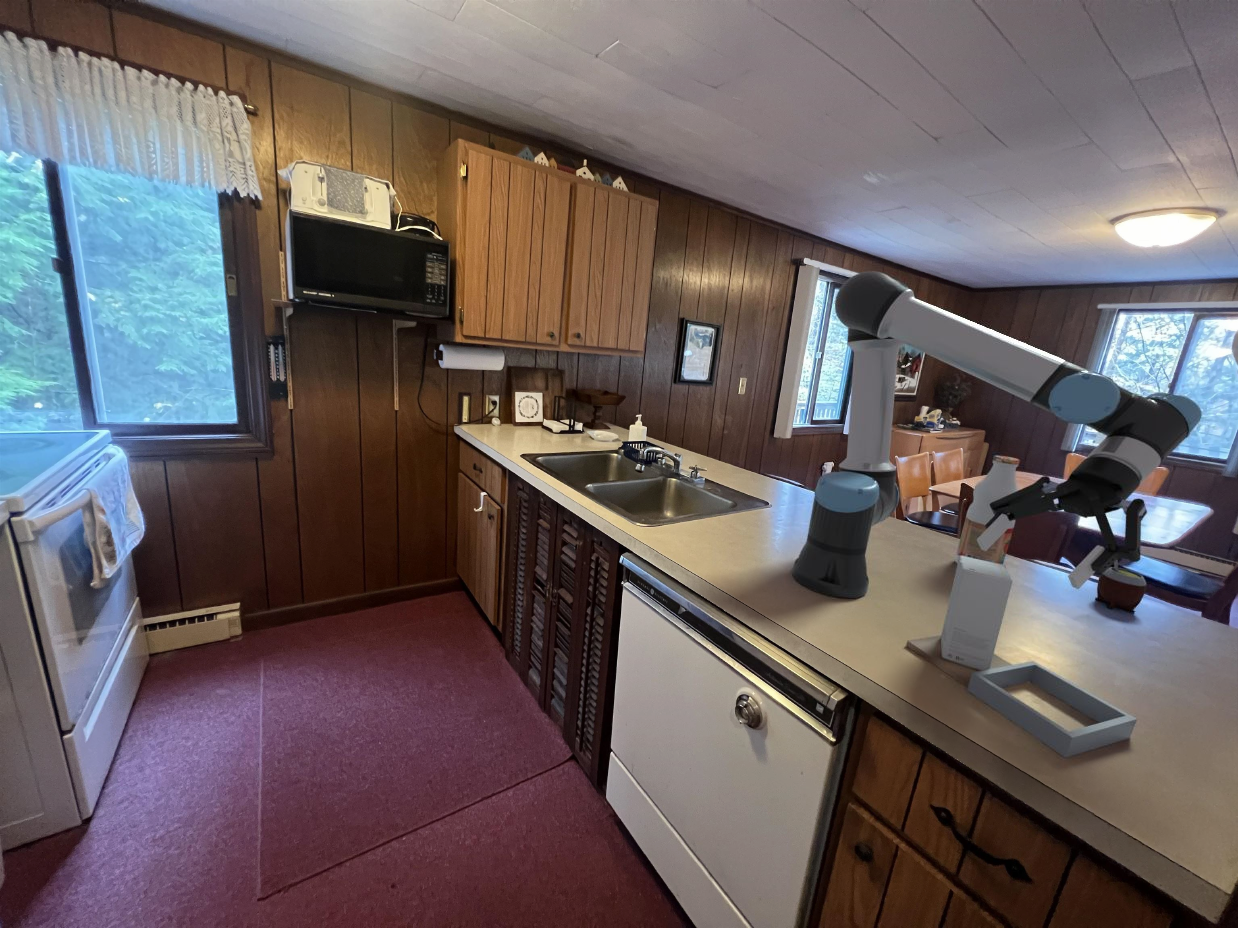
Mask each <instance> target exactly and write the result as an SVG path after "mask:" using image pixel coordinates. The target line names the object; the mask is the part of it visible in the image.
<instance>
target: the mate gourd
mask: <svg viewBox="0 0 1238 928" xmlns="http://www.w3.org/2000/svg"><path fill="white" fill-rule="evenodd" d="M1118 560H1119V559H1117V560H1116V561H1115V562H1114V563H1113V565H1114V566H1113V567H1112V566H1110V567H1109V568H1108V569H1107V570H1106V571H1105V572H1103V573H1101V574H1100V575H1099V577H1098V580H1097V587H1096V594H1097V596H1095V598H1094V600H1095V601H1097V602H1100V603H1102V604H1104V605H1108V606H1107V609H1108V610H1110V611H1113V610H1115V609H1119V610H1121V611H1124V612H1128V613H1130V614H1135V613H1136V611H1135V609H1136V608H1137V607H1138V606H1139V604H1140V603H1141V601H1142V600H1143V598H1144V595H1145V594H1146V592H1147V591H1146V590H1147V581H1146V579H1145V578H1144V576H1143V575H1141V574H1140V573H1138V572H1136V571H1132V570H1128V569H1126V568H1122V567H1119V565H1118V564H1119V562H1118Z"/></svg>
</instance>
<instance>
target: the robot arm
mask: <svg viewBox="0 0 1238 928" xmlns="http://www.w3.org/2000/svg"><path fill="white" fill-rule="evenodd" d="M914 293H915V292H914V291H913V290H912V289H910V288H909V287H908V286H907V285H906V284H905V283H903V282H901V281H899V280H897V279H894V278H892V277H891V276H889V275H888V274H885V273H883V272H880V271H876V270H874V271H873V270H871V271H870V270H869V271H862V272H858V273H857V274H854V275H852V276H851V277H850V278H848V279H847V280H846V281H845V282H844V283H843V284H842V285H841V286H840V288H839V290H838V292H837V294H836V296H835V301H834V309H835V314H836V317H837V318H838V320H839V321H840V323H841V324H843V325H844V327H847V329H848V330H847V341H846V342H847V344H846V345H847V346H848V347H849V348H850V349H851V350H852V352H853V362H852V363H853V364H852V377H851V378H852V379H851V394H850V406H849V407H850V408H849V422H848V423H849V424H848V435H847V449H846V452H847V453H846V458H845V459H844V460H843V461H842V462H841V463H839V464H838V471H832V472H831V471H830V472H826V473H824V474H823V475H821V476H820V477H819V478H818V481H817V485H816V487H815V489H814V497H813V504H812V510H811V514H810V515H811V516H810V520H809V526H808V532H807V537H806V541H805V544H804V545H803V547H802V548H801V550H800V553H799V555H798V557H797V558H796V559H795V561H794V562H793V566H792V571H791V573H792V576H793V578H794V580H796V582H797V583H799V584H800V585H802V586H804V587H805V588H808V589H809V590H812V591H814V592H817V593H820V594H823V595H826V596H829V597H830V596H831V597H836V598H840V599H841V598H843V599H855V598H856V599H858V598H861V597H864V596H865V595H866V594H867V592H868V588H869V586H870V585H869V583H870V579H869V576H868V572H867V570H868V569H867V567H868V566H867V560H866V554H867V550H868V549H867V548H868V543H869V539H870V534H871V530H872V527H874V526H875V525H877V524H878V523H881V522H883V521H885V520H886V519H887V518H889V517H890V516H891V515H892V514H893V513H894V512H895V510H896V509H897V506H898V504H899V501H900V491H899V486H898V485H897V483H896V479H897V478H896V475H897V467H896V466H895V465H894V464H893V463H892V462H891V461H890V454H891V445H892V443H891V441H892V429H893V420H894V419H893V417H894V406H895V404H894V403H895V393H896V382H897V381H896V380H897V370H898V357H899V351H900V349H901V348H902V347H903V346H905V345H906V346H909V347H911V348H913V349H915V350H918V351H919V352H922V353H924V354H926V355H927V356H930V357H931V358H934V359H937V360H938V361H941V362H943V363H945V364H948V365H949V366H951V367H954V368H956V369H958V370H960V371H962V372H965V373H967V374H969V375H970V376H974V377H975V378H978V379H979V380H982V381H985V382H986V383H988V384H990V385H993V386H994V387H997V388H998V389H1001V390H1003V391H1006V393H1009V394H1012V395H1014V396H1016V397H1019V399H1022V400H1025V401H1026V402H1029V403H1031V404H1033V405H1035V406H1037V407H1038V408H1041V409H1042V410H1045V411H1046V412H1050V413H1051V414H1054V415H1055V417H1057V418H1059V419H1060V420H1062V421H1065V422H1067V423H1070V424H1076V425H1085V426H1087V427H1089V428H1090V429H1093V430H1094V431H1097V432H1098V433H1099V434H1100V433H1101V434H1102V435H1104V436H1106V437H1105V438H1104V439H1103V440H1102V441H1101V442H1100V443H1099V444H1098V445H1097V446H1096V447H1095V448H1093V450H1092V451H1091V452H1090V453H1088V455H1087V457H1086V458H1085V459H1083V460H1082V461H1081V462H1080V464H1078V465H1077V466H1076V467H1075V469H1074V470H1073V471H1071V473H1070V475H1069V477H1068V478H1067V479H1066V480H1065V481H1063V482H1061V483H1058V482H1055V481H1052V480H1051V478H1050V476H1047V475H1043V476H1041V477H1040V478H1038V480H1036V481H1034V483H1032V484H1030V485H1028V486H1025V487H1023V488H1021V489H1020V490H1018V491H1016V492H1014V493H1012V494H1010V495H1007V496H1005V497H1003V498H1001V499H998V500H996V501H994V502H992V503H990V507H991V509H992V511H993V513H994V515H995V516H994V517H993V518H992V519H991V520H990V521H989V522H988V523H987V524H986V526H985V527H986V530H985V531H984V532H983V534H982V535H981V536H980V537H979V538H978V539H977V542H978V544H979V546H980V548H981V550H984V551H987V550H988V548H989V547H990V546H991V545H992V544H993V543H994V542H995V541H996V540H997V539H998V538H999V537H1000V536H1001V535H1002V534H1003V533H1004V532H1005V531H1006V530H1007V529H1008V528H1009V527H1010V526H1011V524H1010V521H1012V520H1015V521H1016V520H1020V519H1023V518H1024V519H1025V518H1027V517H1031V516H1035V515H1040V514H1044V513H1047V512H1053V513H1056V512H1060V511H1063V512H1064V513H1067V514H1074V515H1077V516H1079V517H1081V518H1085V519H1087V518H1094V517H1095V520H1096V522H1097V526H1098V528H1099V530H1100V533H1101V536H1102V539H1103V541H1104V545H1105V547H1104V546H1102V545H1096V546H1095V547H1094V548H1093V549H1092V550H1091V551H1090V552H1089V553H1088V554H1087V556H1085V558H1084V559H1083V560H1082V561H1081V562H1080V563H1079V564H1078V565H1077V566H1076V567H1075V568H1074V569H1073V570H1072V571H1071V572H1070V573H1069V574H1068V575H1067V577H1068V580H1069V582H1070V585H1071V587H1072V588H1074V589H1077V590H1079V589H1080V588H1082V586H1084V584H1085V583H1086V582H1087V581H1088V580H1089V579H1090V578H1091V577H1092V576H1093V575H1094V574H1095V573H1098V574H1100V575H1101V574H1102V573H1103V572H1105V571H1106V570H1107V569H1108V568H1110V567H1112V565H1114V562H1115V561H1116V560H1121V559H1125V560H1129V562H1133V563H1134V562H1135V563H1137V562H1139V561H1140V560H1141V547H1142V546H1141V542H1142V541H1141V539H1142V538H1141V537H1142V535H1141V534H1142V533H1141V532H1142V521H1143V519H1144V518H1145V516H1146V515H1147V513H1148V511H1147V506H1146V504H1145V500H1144V499H1142V498H1134V499H1133V500H1128V498H1129V497H1130V496H1131V495H1132V494H1133V493H1134V492H1135V491H1136V490H1137V489H1138V488H1139V486H1140V485H1141V484H1142V483H1143V482H1145V481H1146V479H1147V478H1148V477H1149V476H1150V475H1152V473H1153V472H1154V471H1155V470H1156V469H1157V468H1158V467H1159V466H1160V465H1161V464H1162V462H1164V460H1165V459H1167V457H1169V456H1170V455H1171V454H1172V453H1173V452H1174V451H1175V450H1176V449H1177V447H1179V446H1180V445H1181V444H1182V442H1184V441H1185V440H1186V439H1187V438H1188V437H1189V436H1190V434H1191V433H1192V431H1193V430H1194V429H1195V427H1196V426H1197V425H1198V423H1200V422H1201V419H1202V416H1203V415H1202V414H1203V413H1202V409H1201V408H1200V406H1199V405H1198V404H1197V402H1196V401H1194V400H1193V399H1191V398H1189V397H1188V396H1185V395H1182V394H1181V393H1177V394H1173V393H1170V392H1169V391H1168V392H1167V391H1160V392H1159V391H1158V392H1154V393H1150V394H1148V395H1147V396H1145V397H1144V396H1142V395H1139V394H1137V393H1134V392H1132V391H1129V390H1128V389H1126V388H1124V387H1122V386H1120V385H1118V383H1116V382H1115V381H1114V379H1113V378H1111V377H1109V376H1106V375H1104V374H1102V373H1099V372H1094V371H1091V370H1089V369H1086V368H1084V367H1082V366H1079V365H1077V364H1075V363H1071V362H1068V361H1066V360H1065V359H1062V358H1060V357H1059V356H1056V355H1053V354H1050V353H1048V352H1046V351H1043V350H1041V349H1038V348H1035V347H1033V346H1032V345H1028V344H1027V343H1025V342H1022V341H1019V340H1017V339H1014V338H1012V337H1009V336H1007V335H1005V334H1002V333H1000V332H997V331H995V330H993V329H990V328H987V327H985V326H984V325H980V324H977V323H976V322H973V321H970V320H968V319H966V318H964V317H961V316H959V315H957V314H954V313H952V312H949V311H947V310H944V309H941V308H939V307H937V306H935V305H932V304H931V303H930V304H929V303H927V302H924V301H922V300H920V299H917V298H915V294H914ZM1054 500H1057V502H1058V503H1055V502H1054ZM1120 509H1122V511H1123V514H1124V515H1125V529H1124V533H1125V534H1124V545H1118V542H1117V541H1116V538H1115V535H1114V533H1113V530H1112V527H1111V525H1110V521H1109V519H1108V517H1107V514H1109V513H1112V512H1115V511H1119V510H1120ZM1008 513H1009V514H1008Z"/></svg>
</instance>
